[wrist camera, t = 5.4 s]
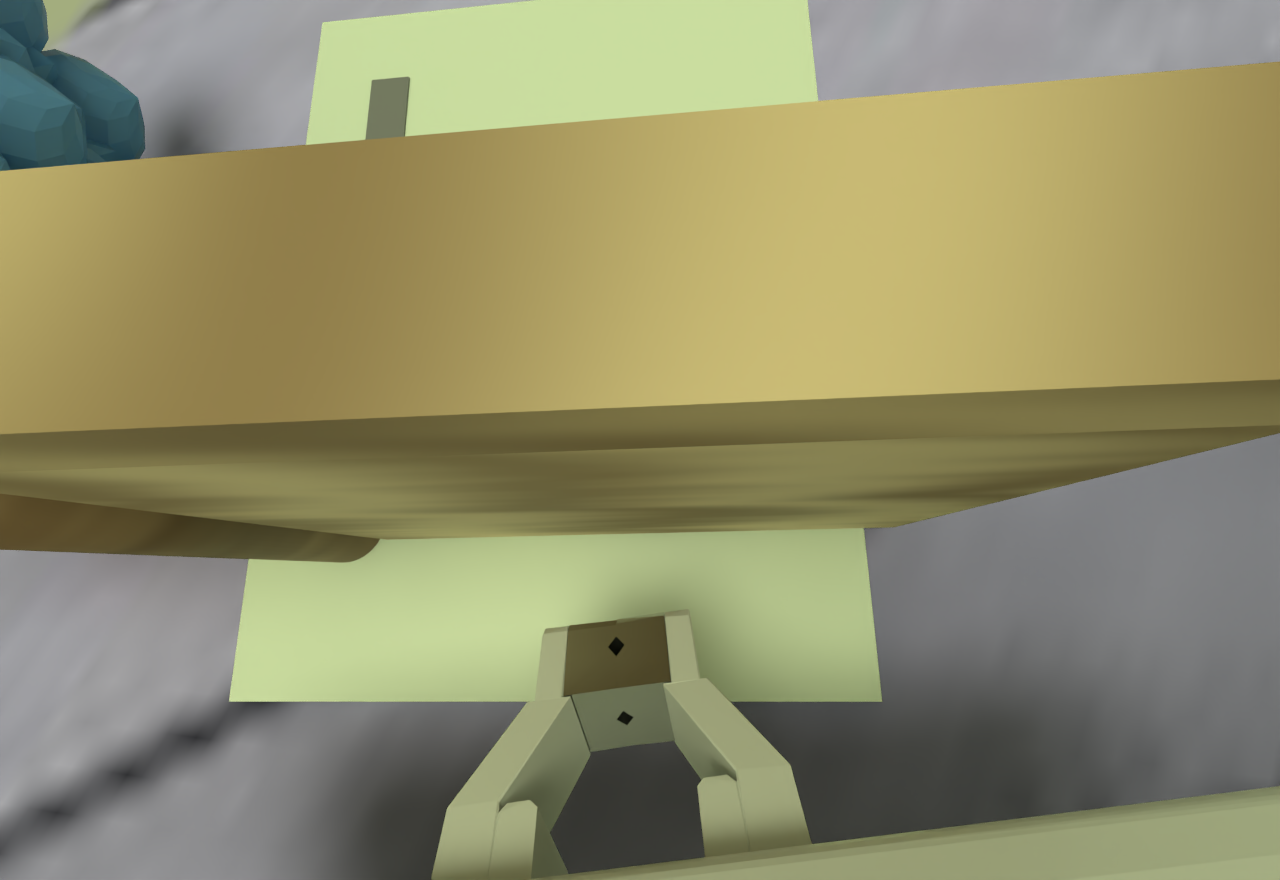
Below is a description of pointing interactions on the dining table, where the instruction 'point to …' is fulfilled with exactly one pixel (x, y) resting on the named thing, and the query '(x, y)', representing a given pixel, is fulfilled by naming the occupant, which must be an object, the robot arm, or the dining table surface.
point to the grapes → (58, 100)
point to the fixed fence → (162, 534)
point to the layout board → (561, 564)
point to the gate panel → (655, 314)
